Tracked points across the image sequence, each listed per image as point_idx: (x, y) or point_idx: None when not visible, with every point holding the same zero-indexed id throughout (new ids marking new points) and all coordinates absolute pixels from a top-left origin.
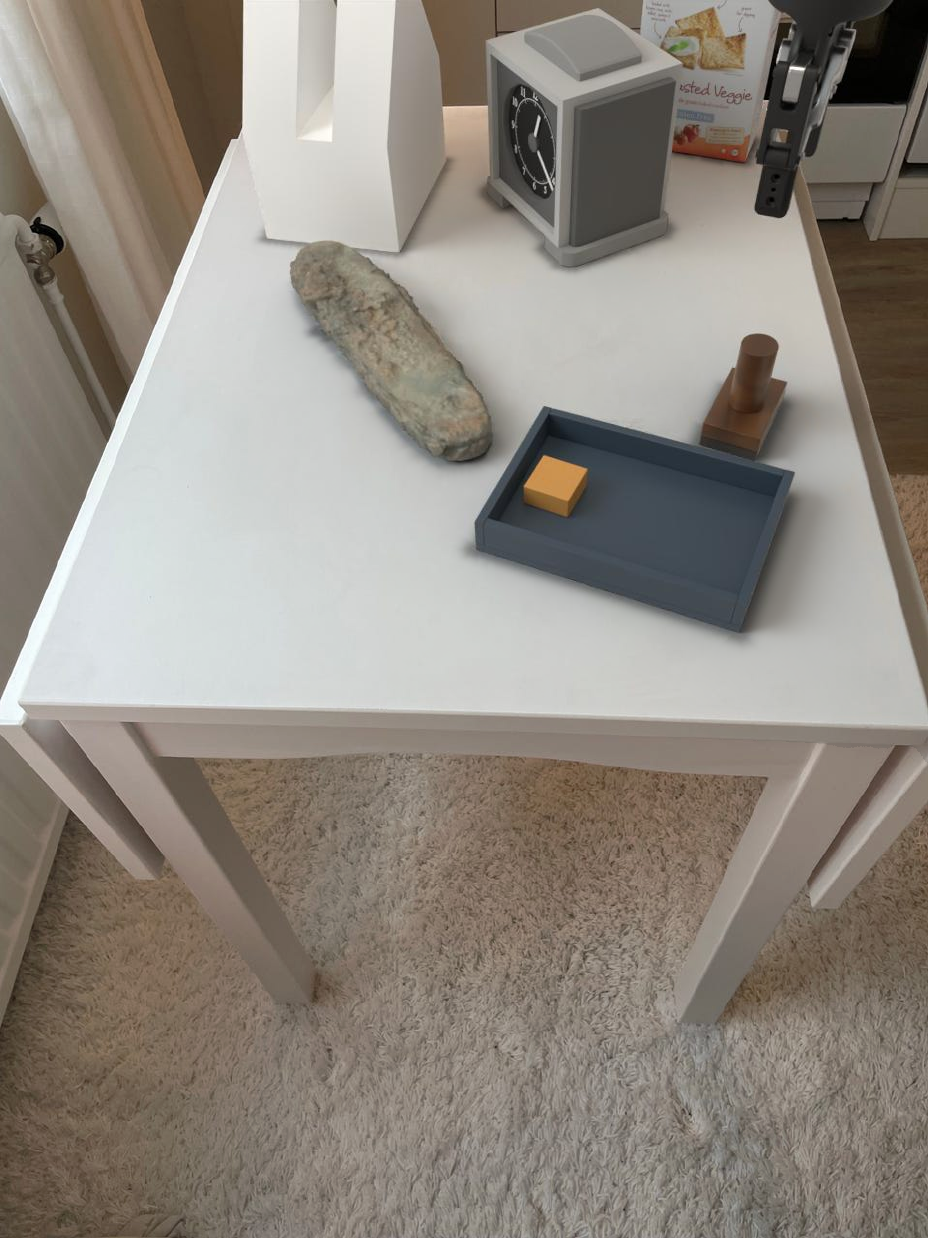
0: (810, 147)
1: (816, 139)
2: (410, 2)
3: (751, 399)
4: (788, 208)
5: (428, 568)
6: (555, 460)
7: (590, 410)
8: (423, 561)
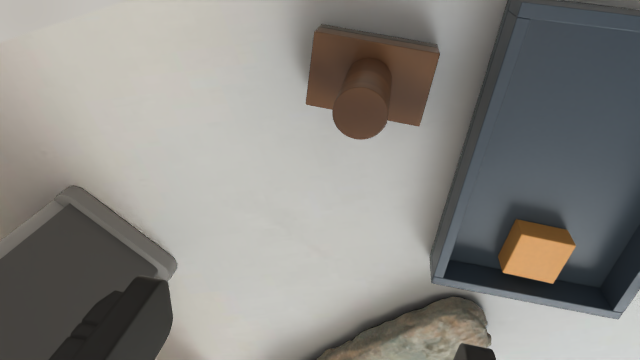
0: (155, 301)
1: (141, 313)
2: None
3: (390, 83)
4: (479, 356)
5: (626, 318)
6: (510, 262)
7: (384, 222)
8: (616, 322)
